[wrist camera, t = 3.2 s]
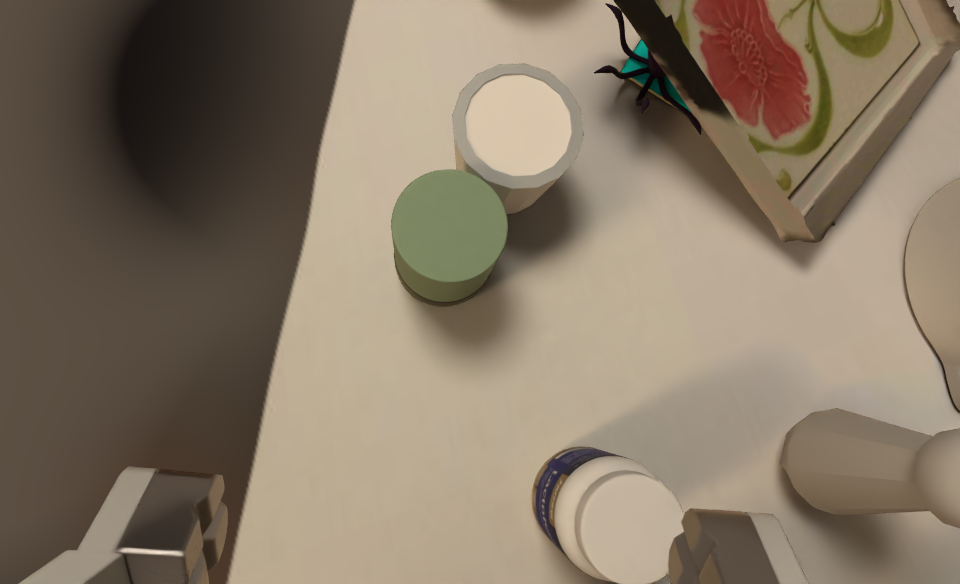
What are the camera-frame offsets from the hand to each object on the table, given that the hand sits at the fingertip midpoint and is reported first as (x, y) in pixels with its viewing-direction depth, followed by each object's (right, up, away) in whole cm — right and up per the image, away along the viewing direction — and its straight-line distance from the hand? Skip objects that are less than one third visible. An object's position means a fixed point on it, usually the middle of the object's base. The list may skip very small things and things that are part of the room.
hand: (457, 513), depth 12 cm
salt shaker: (+20, -6, +28) cm, 35 cm away
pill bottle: (+6, -8, +27) cm, 28 cm away
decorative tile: (+26, +27, +30) cm, 48 cm away
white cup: (+2, +11, +30) cm, 32 cm away
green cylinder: (-2, +6, +28) cm, 29 cm away
